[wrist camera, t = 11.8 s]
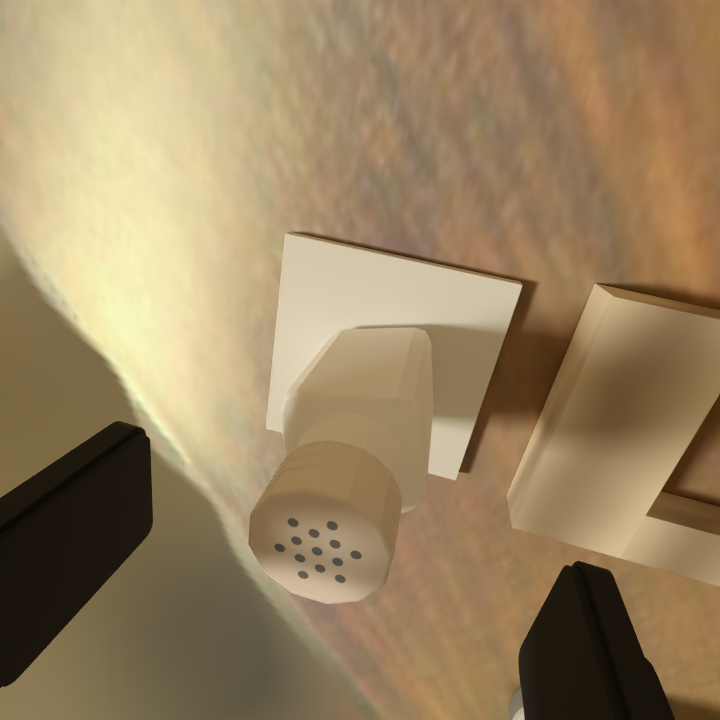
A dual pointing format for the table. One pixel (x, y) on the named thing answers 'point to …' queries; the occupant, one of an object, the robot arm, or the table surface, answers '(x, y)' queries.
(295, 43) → the table surface
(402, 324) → the beige mat
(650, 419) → the socket block
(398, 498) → the pepper shaker
